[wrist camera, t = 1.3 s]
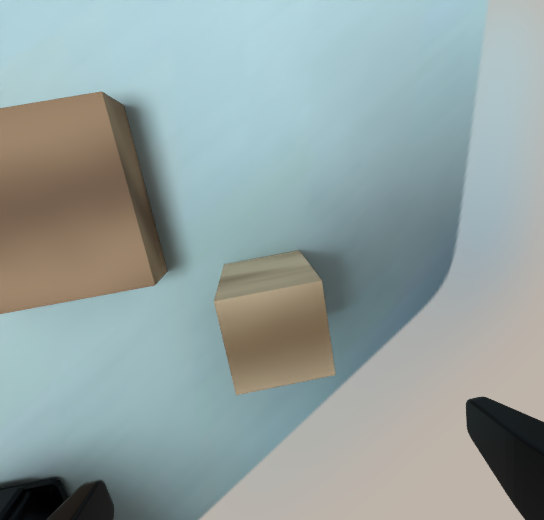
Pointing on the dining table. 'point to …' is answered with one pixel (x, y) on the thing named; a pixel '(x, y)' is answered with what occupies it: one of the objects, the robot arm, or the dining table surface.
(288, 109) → the dining table surface
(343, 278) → the dining table surface
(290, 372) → the birch block
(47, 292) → the walnut block
